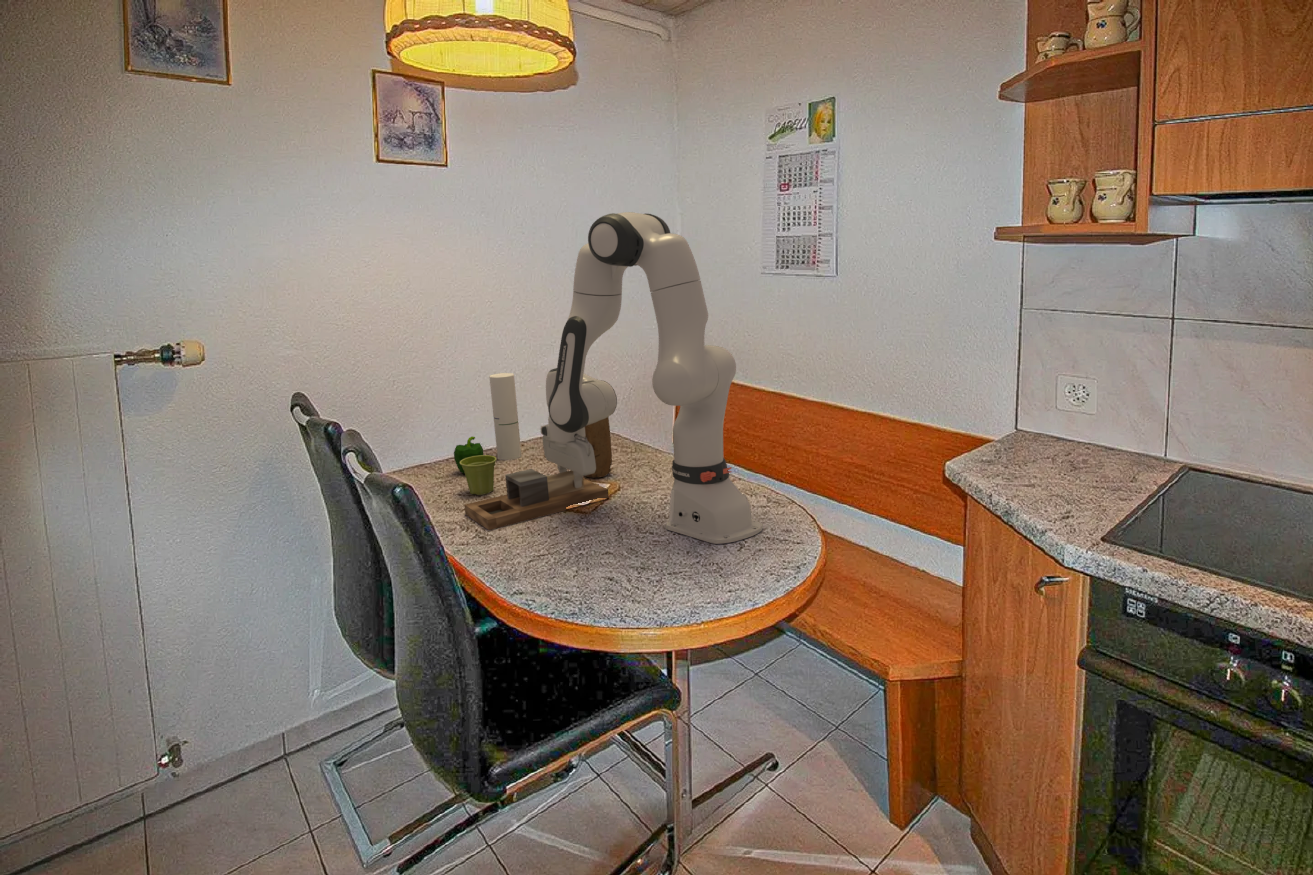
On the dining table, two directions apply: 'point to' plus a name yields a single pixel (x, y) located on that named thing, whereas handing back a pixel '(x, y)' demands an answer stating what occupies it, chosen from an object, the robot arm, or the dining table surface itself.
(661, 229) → the robot arm
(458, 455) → the bell pepper
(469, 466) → the plant pot
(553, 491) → the birch bar
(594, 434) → the block
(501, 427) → the cylindrical container
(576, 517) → the dining table surface
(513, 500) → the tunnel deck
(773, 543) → the dining table surface
